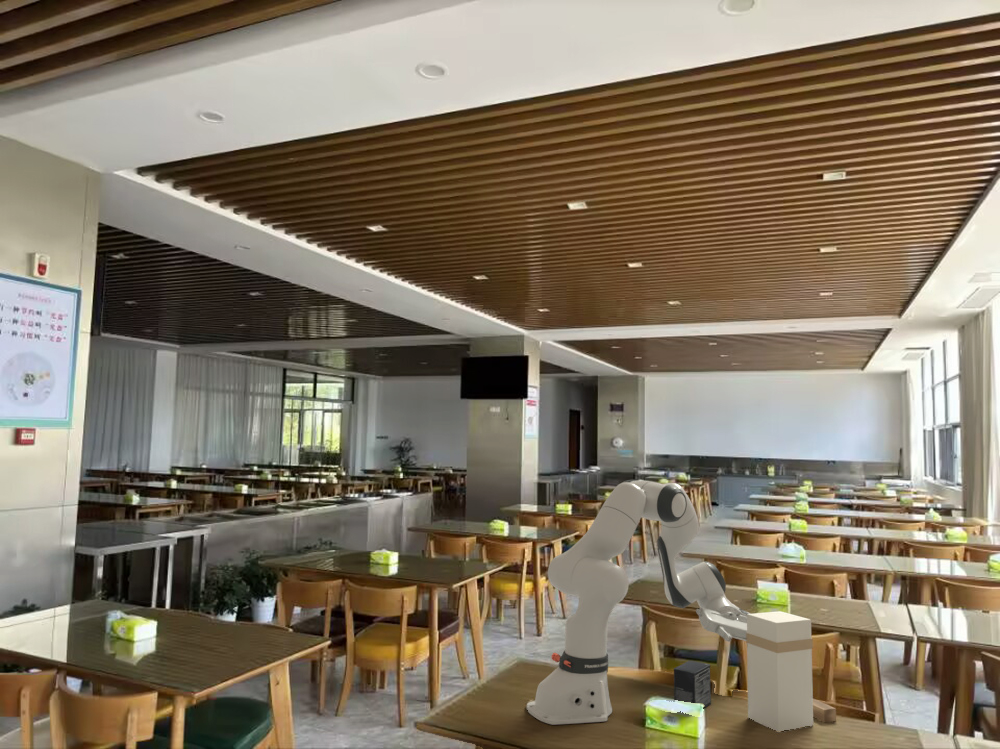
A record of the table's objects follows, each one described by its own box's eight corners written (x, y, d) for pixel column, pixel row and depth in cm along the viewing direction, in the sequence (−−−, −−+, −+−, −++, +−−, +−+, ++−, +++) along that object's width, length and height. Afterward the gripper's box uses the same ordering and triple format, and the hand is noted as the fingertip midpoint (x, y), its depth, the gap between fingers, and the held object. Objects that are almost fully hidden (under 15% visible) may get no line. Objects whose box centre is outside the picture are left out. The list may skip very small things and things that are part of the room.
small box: (689, 698, 191) (689, 659, 192) (711, 704, 187) (711, 664, 188) (672, 708, 183) (672, 667, 184) (695, 714, 179) (695, 672, 180)
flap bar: (824, 724, 176) (823, 709, 176) (771, 699, 194) (771, 686, 194) (836, 722, 177) (835, 708, 178) (782, 697, 195) (782, 684, 195)
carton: (778, 732, 168) (776, 623, 171) (747, 717, 178) (746, 614, 181) (814, 726, 173) (811, 619, 177) (782, 711, 183) (780, 611, 186)
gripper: (697, 598, 212) (716, 625, 198) (754, 614, 216) (777, 642, 202) (689, 615, 213) (707, 644, 200) (746, 631, 217) (767, 660, 204)
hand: (743, 643), depth 201 cm, fingers open, 8 cm apart
